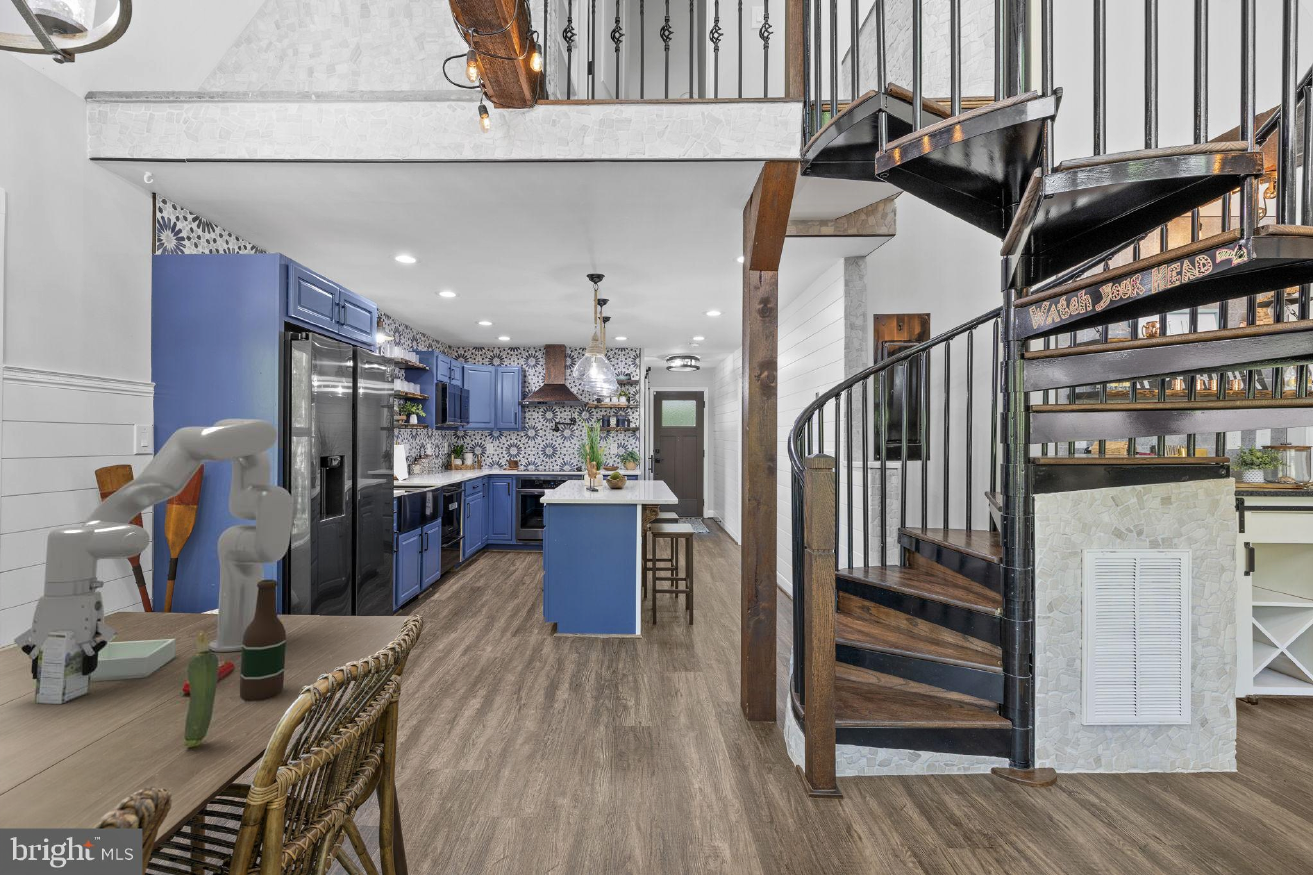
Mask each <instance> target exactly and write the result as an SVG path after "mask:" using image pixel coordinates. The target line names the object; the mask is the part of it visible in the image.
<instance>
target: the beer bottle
mask: <svg viewBox="0 0 1313 875" xmlns="http://www.w3.org/2000/svg"><path fill="white" fill-rule="evenodd" d="M278 585H279V584H278V581H277V580H275V579H264V580H262V581H260V582H258V584H257V587H258V595H257V603H256V610H255V615H254V619H253V621H252V622H251V623H250V624H249V626H248V627H247V629H246V631H245V633H244V635H243V642H242V650H241V658H240V659H241V660H240V678H239V696H240V697H241V698H242V699H243V700H244V701H246V702H247V701H249V702H250V701H252V702H253V701H262V700H267V699H270V698H275V697H276V696H277V695H278V694H280V693H281V692H282V691H283V690H284V689H283V688H284V683H285V682H284V681H285V662H286V661H285V660H286V659H285V658H286V643H287V637H286V634H287V632H286V628H285V627H284V624H283V622H281V620H280V619H279V617H278V611H277V586H278Z"/></svg>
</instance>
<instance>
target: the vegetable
mask: <svg viewBox="0 0 1313 875" xmlns="http://www.w3.org/2000/svg"><path fill="white" fill-rule="evenodd" d="M209 643H210V642H209V640H208V636H207V635H206V634H205V632H204V631H202V632H200V633H199V634H198V637H197V642H196V650H197V653H196V654H195V655H193V656H192V658H191V659H190V661H189V663H188V665H187V679H188V680H187V681H189V688H190V693H189V703H188V704H189V705H188V710H187V714H186V719H185V727H184V734H183V736H184V737H183V738H184V740H185V741H184V747H187V748H188V749H189V748H191V747H198V746H200V745H201V743H202V740H203V739H205V737H206V736H207V734H208V729H209V727H210V723H211V720H212V716H213V711H214V704H215V698H216V697H215V696H216V690H217V686H218V681H219V680H218V669H219V663H218V661H219V659H218V656H217V654H215V653H214V651H213V652H212V650H210V649H209V648H210V646H209Z"/></svg>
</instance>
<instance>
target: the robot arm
mask: <svg viewBox="0 0 1313 875" xmlns="http://www.w3.org/2000/svg"><path fill="white" fill-rule="evenodd" d="M277 438H278V432H277V429H276V427H275V426H274V424H272V423H271V422H269V421H268V420H265V419H260V418H259V419H256V418H226V419H225V418H224V419H221V420H218V421H217V422H215V423H214V424H213V426H184V427H182V428H179V429H177V430H176V431H175V432H173V434H171V436H170V437H169V438H168V440H167V441H165V443H164V444H163V446H162V447H161V448H160V449H159V451H158V452H157V453H156V454H155V455H154V457H153V458H152V459H151V461H150V462H149V463H148V464H147V465H146V467H145V468H144V469H143V471H142V472H141V473H139V475H138V476H137V477H136V478H134V479H132V480H130V481H129V482H128V483H126V484H125V485H123V486H121V487H120V488H119V489H118V490H117V491H116V490H115V491H114V493H111V494H110V495H109V496H108V497H107V498H105V499H104V500H103V501H101V503H99V505H98V506H97V507H96V508H95V509H94V510H93V511H92V512H91V514H90V515H89V516H88V518H87V519H86V520H85V521H84V522H83V524H82V525H81V526H70V527H69V526H68V527H60V528H59V527H58V528H55V529H53V530H51V531H50V532H49V533H48V535H47V544H46V554H45V555H46V556H45V572H44V583H43V584H44V586H43V587H44V588H43V595H41V596H39V598H38V601H37V604H36V606H35V609H34V610H35V611H34V614H33V618H32V624H31V628H29V629H27V630H26V631H25V632H23V633H21V634H20V635H18V636H17V637H15V638H14V641H13V642H14V643H15V644H16V645H17V646H18V647H19V648H21V649H20V650H21V651H22V652H23V653H24V654H26V655H28V659H30V660H31V670H30V671H31V672H30V673H31V674H32V680H37V668H38V656H39V646H41V645H43V644H44V642H45V640H46V638H47V636H48V635H49V633H50V632H52V631H59V630H63V631H73V632H74V639H75V644H81V646H82V647H83V649H84V650H85V652H86V656H84V657H83V665H82V675H83V676H87V675H88V674H90V673H92V672H94V671H95V669H96V668H97V665H98V652H99V651H101V650H102V649H103V648H104V647H105V646H106V645H107V644H109V643H111V641H112V640H114V638H115V637H116V636H117V635H118V631H117V630H115V629H114V628H112V627H110V626H109V625H107V624H106V623H105V610H104V608H105V607H104V601H103V597H102V594H101V591H99V590H98V591H97V589H102V588H103V587H104V585H105V582H104V581H102V580H98V576H97V571H98V570H97V569H98V561H100V560H121V559H130V558H133V557H136V556H138V555H140V554H142V553H143V552H144V551H145V550H146V549H147V548H148V546H149V544H150V540H151V539H150V535H149V533H148V531H147V530H146V529H145V528H143V527H141V526H139V525H136V524H133V523H130V522H131V521H132V520H133V519H134V518H135V517H136V516H138V515H139V514H140V513H141V512H143V511H145V510H146V509H148V508H151V507H153V506H155V505H156V504H160V503H163V502H165V501H167V500H170V499H172V498H174V497H176V496H178V495H179V494H181V493H182V492H183V490H184V489H185V487H186V486H187V484H189V482H190V480H191V478H193V476H195V473H196V472H198V470H199V468H200V467H201V466H202V464H203V463H204V462H208V463H209V462H211V463H212V462H215V463H218V462H225V461H230V463H231V468H232V470H231V471H232V472H231V482H230V484H231V485H230V493H229V502H228V510H229V512H230V514H231V515H232V516H233V517H234V518H235V519H240V520H246V521H255V524H238V525H233V526H230V527H228V528H226V529H225V530H224V531H223V532H222V533H221V534H220V535H219V536H220V537H218V541H217V555H218V556H217V557H218V562H219V569H220V570H219V571H220V573H219V574H220V575H219V576H220V577H219V594H218V609H217V610H218V612H217V627H216V628H217V630H216V639H214V640H211V641H210V642H209V646H210V648H209V651H211V652H212V651H213V652H220V653H223V652H224V653H225V652H226V653H229V652H230V653H231V652H237V651H238V652H239V651H242V642H243V635H244V633H245V631H246V629H247V627H248V626H249V624H250V623H251V622H252V621H253V619H254V615H255V610H256V603H257V595H258V587H257V584H258V582H260V581H262V580H265V572H264V568H263V565H262V564H273V563H277V562H278V561H280V560H281V559H282V558H283V557H284V556H285V555H286V553H287V551H288V550H289V545H290V540H291V533H292V522H293V512H294V502H293V499H292V495H291V494H290V493H289V491H288V490H287V489H285V488H284V487H281V486H279V485H271V471H272V470H271V468H272V467H271V461H270V458H269V456H268V454H267V451H268V450H270V449H271V448H272V447H273V446H274V445H275V444H276V441H277ZM102 636H103V638H102V639H101V640H100V641H99V640H98V638H100V637H102ZM96 638H97V639H96Z"/></svg>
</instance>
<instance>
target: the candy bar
mask: <svg viewBox="0 0 1313 875" xmlns="http://www.w3.org/2000/svg"><path fill="white" fill-rule="evenodd" d="M218 663H219V669H218V681H220V680H221V679H223V678H224V677H225V676H227V675H228V674H230V673H231V672H232V671H233V669H234V668H235V666H234V663H233V662H231V661H228V660H218ZM181 689H182V691H183V693H187V694H190V688H189V680H187V681H186V682H185V684H184V685H183V687H182V688H181Z"/></svg>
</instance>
